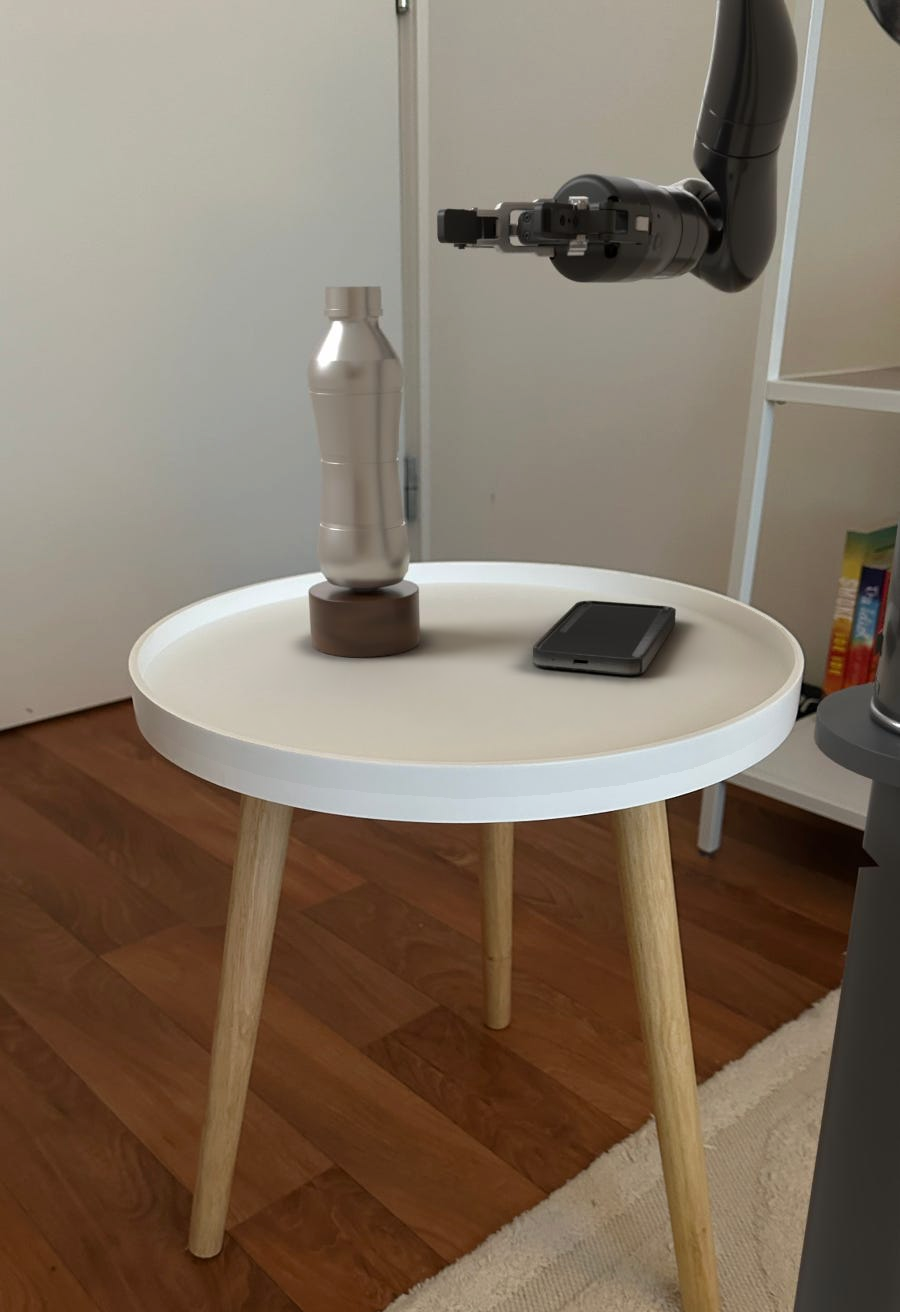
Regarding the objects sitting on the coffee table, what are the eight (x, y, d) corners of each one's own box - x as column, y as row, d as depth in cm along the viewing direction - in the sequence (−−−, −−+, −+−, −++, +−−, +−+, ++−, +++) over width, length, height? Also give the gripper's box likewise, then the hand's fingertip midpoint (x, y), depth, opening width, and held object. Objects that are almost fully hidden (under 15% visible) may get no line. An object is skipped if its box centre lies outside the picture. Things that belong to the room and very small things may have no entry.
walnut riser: (439, 635, 87) (439, 583, 85) (381, 663, 81) (380, 606, 79) (351, 623, 91) (349, 572, 89) (289, 648, 84) (285, 593, 83)
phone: (678, 606, 89) (642, 659, 76) (677, 621, 90) (641, 676, 77) (578, 599, 92) (526, 649, 79) (577, 613, 92) (526, 665, 79)
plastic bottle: (395, 601, 80) (386, 285, 72) (304, 595, 82) (286, 287, 74) (422, 580, 86) (417, 286, 78) (337, 575, 88) (323, 287, 80)
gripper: (542, 182, 94) (409, 169, 83) (698, 170, 86) (575, 153, 75) (540, 283, 97) (411, 283, 86) (690, 281, 89) (571, 281, 78)
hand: (487, 223), depth 80 cm, fingers open, 8 cm apart
